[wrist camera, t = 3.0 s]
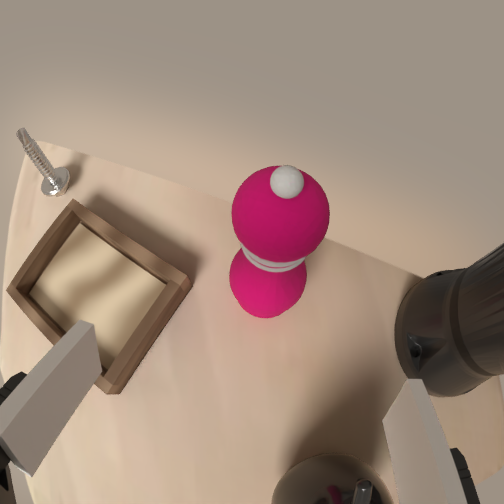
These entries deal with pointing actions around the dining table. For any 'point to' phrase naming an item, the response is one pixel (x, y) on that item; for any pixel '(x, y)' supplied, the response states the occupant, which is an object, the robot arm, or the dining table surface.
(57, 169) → the screw
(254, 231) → the pepper mill
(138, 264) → the walnut tray
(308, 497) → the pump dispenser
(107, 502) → the dining table surface
